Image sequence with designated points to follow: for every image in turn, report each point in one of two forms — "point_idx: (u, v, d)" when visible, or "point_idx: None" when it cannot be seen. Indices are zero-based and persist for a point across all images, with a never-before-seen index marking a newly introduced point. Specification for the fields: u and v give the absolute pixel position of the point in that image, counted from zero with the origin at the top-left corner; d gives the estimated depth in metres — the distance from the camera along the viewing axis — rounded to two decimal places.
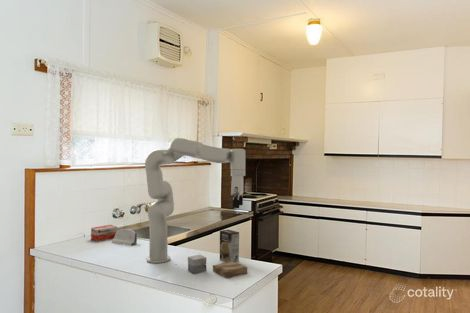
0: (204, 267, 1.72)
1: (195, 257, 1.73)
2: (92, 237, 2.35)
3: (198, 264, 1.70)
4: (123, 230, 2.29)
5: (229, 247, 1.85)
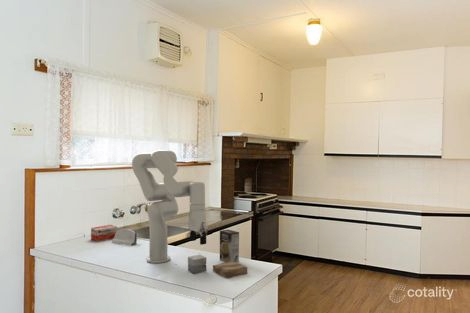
0: (204, 267, 1.72)
1: (195, 257, 1.73)
2: (92, 238, 2.35)
3: (198, 264, 1.70)
4: (123, 230, 2.29)
5: (229, 247, 1.85)
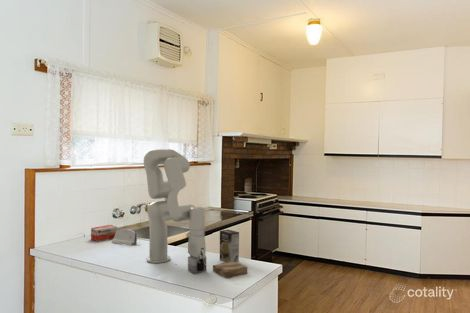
0: (204, 267, 1.72)
1: (195, 257, 1.73)
2: (92, 238, 2.35)
3: None
4: (123, 230, 2.29)
5: (229, 247, 1.85)
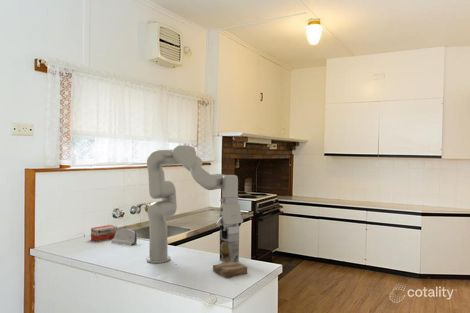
0: None
1: (231, 225, 1.70)
2: (92, 238, 2.34)
3: None
4: (123, 230, 2.28)
5: (229, 247, 1.85)
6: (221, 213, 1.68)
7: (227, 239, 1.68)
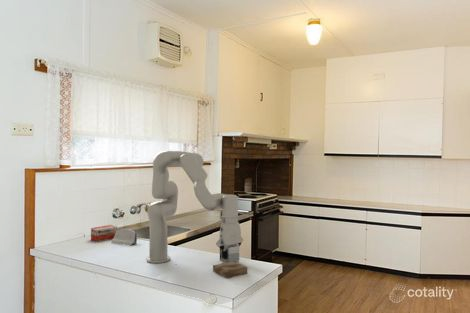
0: None
1: (231, 245, 1.71)
2: (92, 238, 2.34)
3: None
4: (123, 230, 2.29)
5: None
6: (221, 233, 1.68)
7: (227, 259, 1.68)
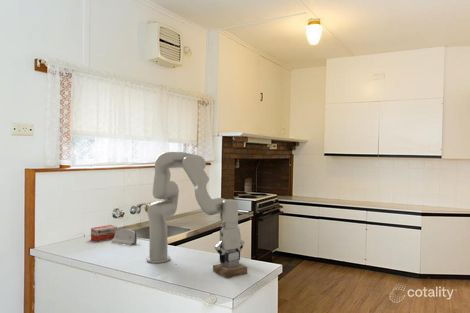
0: None
1: (230, 251, 1.71)
2: (92, 238, 2.34)
3: None
4: (123, 230, 2.29)
5: None
6: (221, 238, 1.68)
7: (227, 266, 1.68)
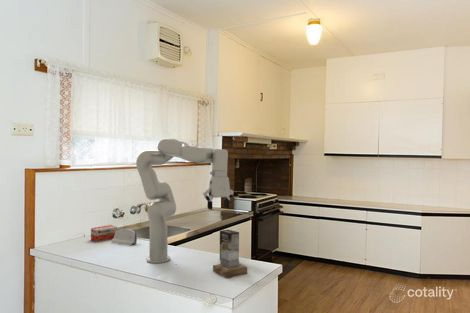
0: None
1: (230, 251, 1.71)
2: (92, 238, 2.34)
3: None
4: (123, 230, 2.29)
5: (229, 247, 1.85)
6: (210, 186, 1.72)
7: (227, 266, 1.68)
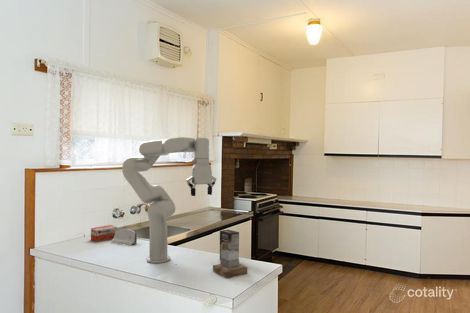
0: None
1: (230, 251, 1.71)
2: (92, 238, 2.34)
3: None
4: (123, 230, 2.29)
5: (229, 247, 1.85)
6: (193, 173, 1.78)
7: (227, 266, 1.68)
